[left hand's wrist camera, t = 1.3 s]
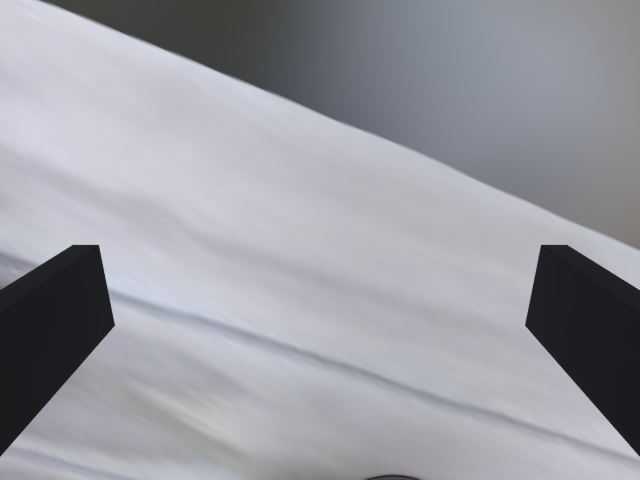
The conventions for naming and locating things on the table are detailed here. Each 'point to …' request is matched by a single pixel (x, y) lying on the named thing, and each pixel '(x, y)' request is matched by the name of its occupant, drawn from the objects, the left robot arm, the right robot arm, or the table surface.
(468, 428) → the table surface
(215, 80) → the table surface
